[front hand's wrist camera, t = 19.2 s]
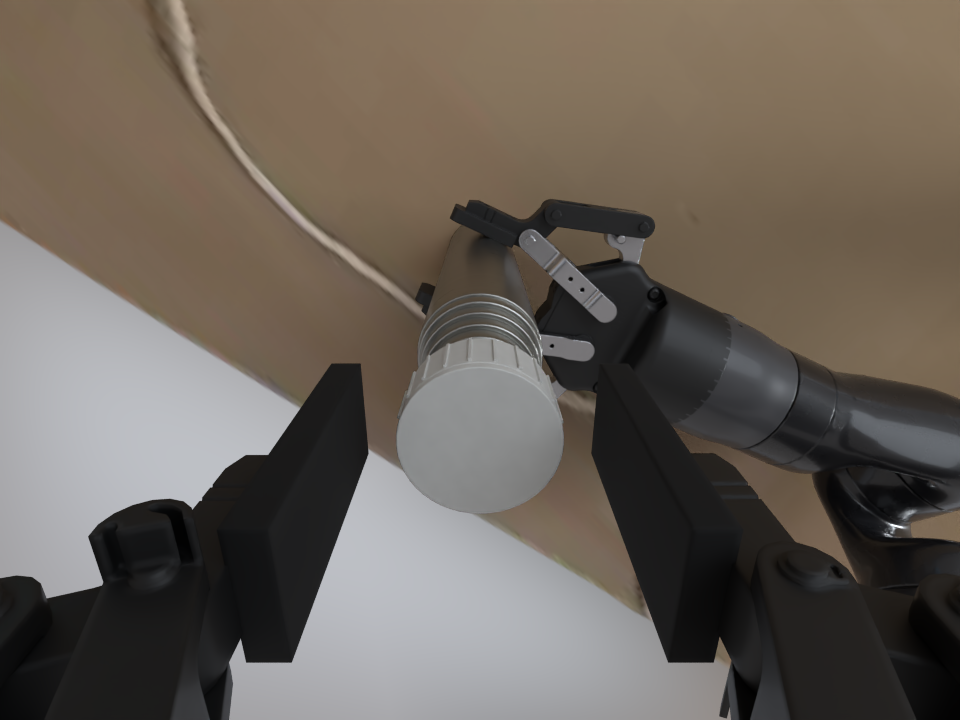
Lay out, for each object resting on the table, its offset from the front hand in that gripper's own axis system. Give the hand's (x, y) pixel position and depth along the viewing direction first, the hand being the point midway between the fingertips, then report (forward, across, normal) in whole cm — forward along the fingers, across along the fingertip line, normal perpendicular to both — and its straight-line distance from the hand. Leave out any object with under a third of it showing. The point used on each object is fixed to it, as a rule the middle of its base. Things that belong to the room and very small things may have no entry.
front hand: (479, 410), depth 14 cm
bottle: (+24, 0, 0) cm, 24 cm away
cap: (-1, 0, 0) cm, 1 cm away
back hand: (+17, -2, +1) cm, 18 cm away
